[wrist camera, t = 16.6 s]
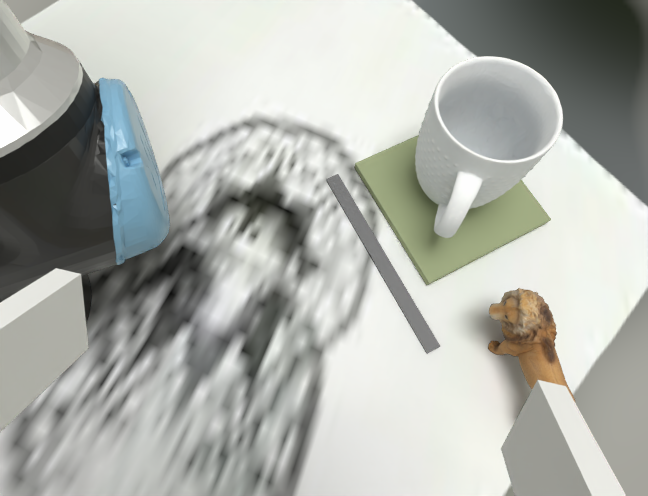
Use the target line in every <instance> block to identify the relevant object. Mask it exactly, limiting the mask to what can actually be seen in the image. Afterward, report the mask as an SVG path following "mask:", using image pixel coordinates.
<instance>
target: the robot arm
mask: <svg viewBox="0 0 648 496" xmlns="http://www.w3.org/2000/svg"><path fill="white" fill-rule="evenodd" d="M169 226H170V221H169V213H168V207H167V202H166V197H165V193H164V189H163V185H162V181H161V178H160V174H159V170H158V167H157V163H156V160H155V157H154V153H153V150H152V147H151V144H150V141H149V138H148V135H147V132H146V129H145V126H144V123H143V120H142V118H141V115H140V112H139V110H138V107H137V105H136V103H135V100H134V98H133V96H132V94H131V93H130V91H129V90H128V88H127V86H126V84H125V83H124V82H122V81H121V80H118V79H110V80H109V79H104V78H101V79H99V81H98V82H96V83H95V84H94V83H93V82H92V81H91V80H90V78H89V76H88V75H87V73H86V72H85V70H84V68H83V67H82V65H81V63H80V62H79V60H78V59H77V58H76V56H75V55H74V53H73V52H72V51H71V50H70V49H68V48H67V47H66V46H64V45H62V44H60V43H58V42H55V41H52V40H49V39H46V38H43V37H40V36H37V35H34V34H31V33H29V32H27V31H26V30H24V29H23V27H22V26H21V24H20V23H19V21H18V20H17V18H16V17H15V15H14V14H13V13H12V11H11V10H10V8H9V7H8V5H7V4H6V3H5V1H4V0H0V432H1V431H2V430H3V429H4V428H5V427H7V426H8V425H9V424H10V423H11V422H12V421H13V420H14V419H15V418H16V417H17V416H18V415H19V414H20V413H21V412H22V411H23V410H24V409H25V408H26V407H28V406H29V405H30V404H31V403H32V402H33V401H34V400H35V399H36V398H37V397H38V396H39V395H40V394H41V393H42V392H43V391H44V390H45V389H46V388H48V387H49V386H50V385H51V384H52V383H53V382H54V381H55V380H56V379H57V378H58V377H59V376H60V375H61V374H62V373H63V372H64V371H65V370H66V369H67V368H69V367H70V366H71V365H72V364H73V363H74V362H75V361H76V360H77V359H78V358H79V357H80V356H81V355H82V354H83V353H84V352H85V351H86V350H87V349H89V347H88V337H87V327H86V321H87V318H88V314H89V310H90V304H91V287H90V282H89V278H88V275H87V274H88V273H91V272H95V271H98V270H101V269H104V268H107V267H110V266H113V265H116V264H117V265H119V264H122V263H124V262H125V260H126V259H129V258H131V257H134V256H136V255H139V254H141V253H144V252H146V251H148V250H151V249H153V248H156V247H157V246H159V245H160V244H161V242H162V241H163V240H164V239H165V238H166V236H167V234H168V232H169ZM501 450H502V453H503V457H504V460H505V464H506V467H507V470H508V474H509V477H510V481H511V484H512V488H513V491H514V494H515V496H626V495H625V493H624V491H623V489H622V488H621V486H620V484H619V482H618V480H617V478H616V477H615V475H614V473H613V471H612V469H611V467H610V466H609V464H608V462H607V460H606V458H605V456H604V455H603V453H602V451H601V449H600V447H599V445H598V444H597V442H596V440H595V438H594V436H593V435H592V433H591V431H590V429H589V427H588V426H587V424H586V422H585V420H584V418H583V416H582V414H581V413H580V411H579V409H578V407H577V405H576V404H575V402H574V400H573V398H572V396H571V394H570V393H569V391H568V389H567V387H566V386H563V385H558V384H554V383H550V382H545V381H541V380H537V382H536V383H535V385H534V387H533V389H532V391H531V393H530V395H529V397H528V399H527V400H526V402H525V404H524V406H523V408H522V410H521V412H520V414H519V415H518V417H517V419H516V421H515V423H514V425H513V427H512V429H511V431H510V432H509V434H508V436H507V438H506V440H505V442H504V444H503V446H502V448H501Z"/></svg>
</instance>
